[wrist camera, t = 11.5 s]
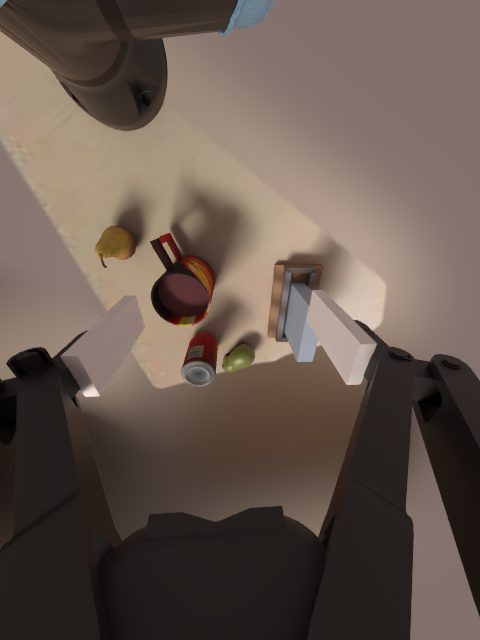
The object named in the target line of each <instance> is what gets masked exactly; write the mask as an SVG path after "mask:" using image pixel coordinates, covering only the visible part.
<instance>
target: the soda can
mask: <svg viewBox="0 0 480 640" xmlns="http://www.w3.org/2000/svg"><path fill="white" fill-rule="evenodd" d="M217 351H218V344H217V341H216V340H215V338H214V337H213V336H212V335H211V334H208V333H199V334H197V335H196V336H194V337H193V338H192V339H191V341H190V343H189V347H188V350H187V353H186V356H185V360H184V364H183V367H182V370H181V375H182V378H183V379H184V380H185V381H186V382H187V383H188V384H191V385H193V386H205V385H208V384H209V383H211V382H212V380H213V379H214V377H215V374H216V362H217Z"/></svg>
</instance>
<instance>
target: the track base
mask: <svg viewBox="0 0 480 640" xmlns="http://www.w3.org/2000/svg"><path fill="white" fill-rule="evenodd" d="M322 268H323V266H322V265H296V264H275V268H274V278H273V287H272V297H271V306H270V315H269V325H268V334H267V336H268V338H275V339H276V342H288V339H287V337H286V335H285V332H284V330H283V328H284V321H285V314H286V308H287V301H288V294H289V287H290V282H304V283H305V284H306V285H307V286H308V287H309V288H310V289H311V290H318V286H319V282H320V277H321V273H322Z"/></svg>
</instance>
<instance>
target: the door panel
mask: <svg viewBox="0 0 480 640" xmlns="http://www.w3.org/2000/svg"><path fill="white" fill-rule="evenodd" d="M311 296H312V290H311V289H310V288H309V287H308V286H307V285H306V284H305V283H304V282H290V287H289V294H288V301H287V308H286V314H285V321H284V328H283V330H284V332H285V335H286V337H287V339H288V342H289V344H290V346H291V349H292V351H293V353H294V355H295V358H296V360H297V362H312V361H313V357H314V353H315V349H316V345H317V341H318V338H317V337H316V335H315V334H314V332H313V330H312V329H311V327H310V326H309V324H308V322H307V318H308V312H309V307H310V301H311Z"/></svg>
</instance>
